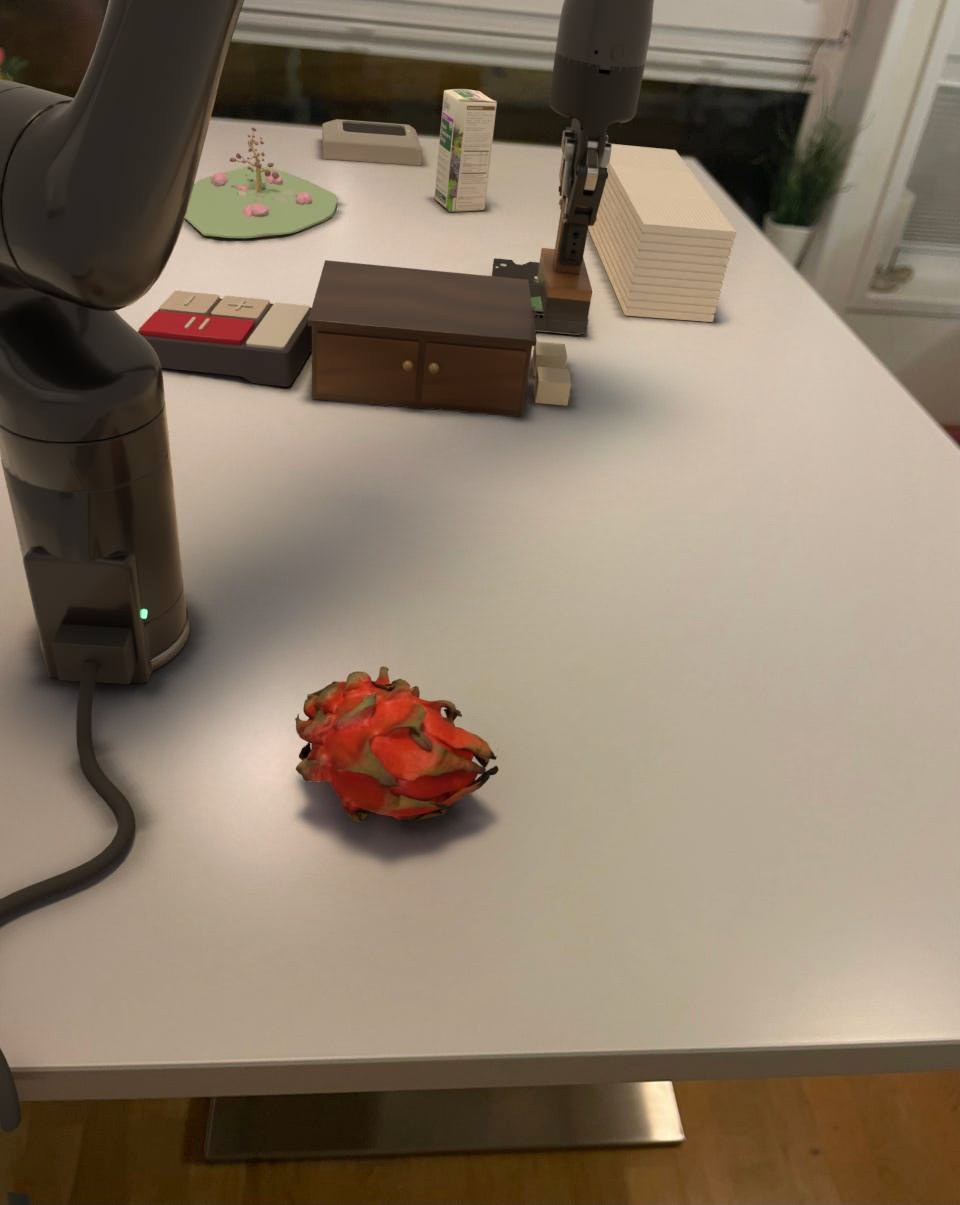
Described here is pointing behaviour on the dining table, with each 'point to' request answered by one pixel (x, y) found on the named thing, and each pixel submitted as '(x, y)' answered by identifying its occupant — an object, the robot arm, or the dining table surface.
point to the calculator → (231, 336)
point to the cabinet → (421, 338)
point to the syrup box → (464, 150)
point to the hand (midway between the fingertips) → (568, 257)
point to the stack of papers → (661, 236)
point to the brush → (563, 283)
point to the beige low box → (371, 142)
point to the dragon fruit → (389, 748)
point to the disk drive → (536, 296)
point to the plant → (257, 202)
